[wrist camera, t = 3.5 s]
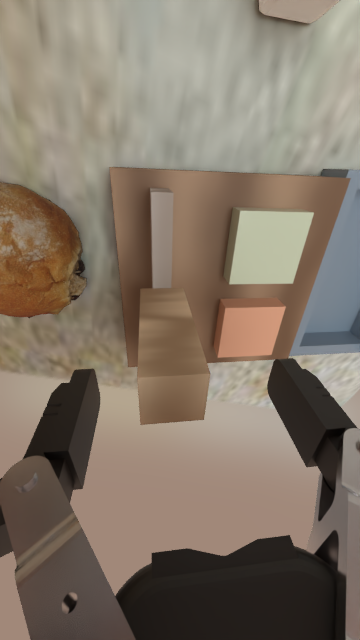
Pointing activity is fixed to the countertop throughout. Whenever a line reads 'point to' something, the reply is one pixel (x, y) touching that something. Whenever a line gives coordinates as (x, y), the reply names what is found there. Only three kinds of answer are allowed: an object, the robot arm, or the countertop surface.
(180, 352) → the long tan wooden block
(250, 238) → the sage tile
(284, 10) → the pepper shaker
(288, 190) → the board
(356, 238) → the tray
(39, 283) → the bread roll
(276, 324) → the terracotta tile
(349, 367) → the countertop surface
